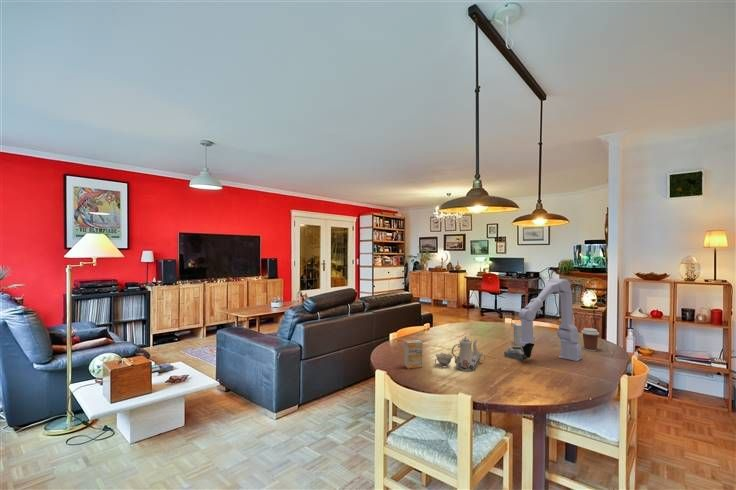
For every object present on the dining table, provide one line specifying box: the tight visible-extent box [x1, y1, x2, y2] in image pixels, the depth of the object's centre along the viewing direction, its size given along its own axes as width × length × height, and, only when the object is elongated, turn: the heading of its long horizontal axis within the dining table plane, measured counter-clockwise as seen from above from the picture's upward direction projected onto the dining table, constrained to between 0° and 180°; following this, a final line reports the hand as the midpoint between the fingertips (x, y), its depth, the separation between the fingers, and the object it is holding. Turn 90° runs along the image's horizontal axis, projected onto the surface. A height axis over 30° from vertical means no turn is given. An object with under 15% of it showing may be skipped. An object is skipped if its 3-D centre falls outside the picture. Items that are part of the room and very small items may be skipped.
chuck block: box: [503, 350, 525, 361], centre depth 200 cm, size 10×10×2 cm
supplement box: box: [404, 339, 423, 370], centre depth 184 cm, size 8×5×13 cm, turn 105°
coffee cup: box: [580, 327, 600, 352], centre depth 212 cm, size 9×9×12 cm
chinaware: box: [434, 335, 486, 372], centre depth 184 cm, size 28×17×17 cm, turn 111°
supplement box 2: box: [512, 322, 521, 347], centre depth 225 cm, size 7×7×13 cm
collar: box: [507, 345, 527, 360], centre depth 195 cm, size 17×7×2 cm, turn 173°
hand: (527, 357), depth 190 cm, fingers closed
